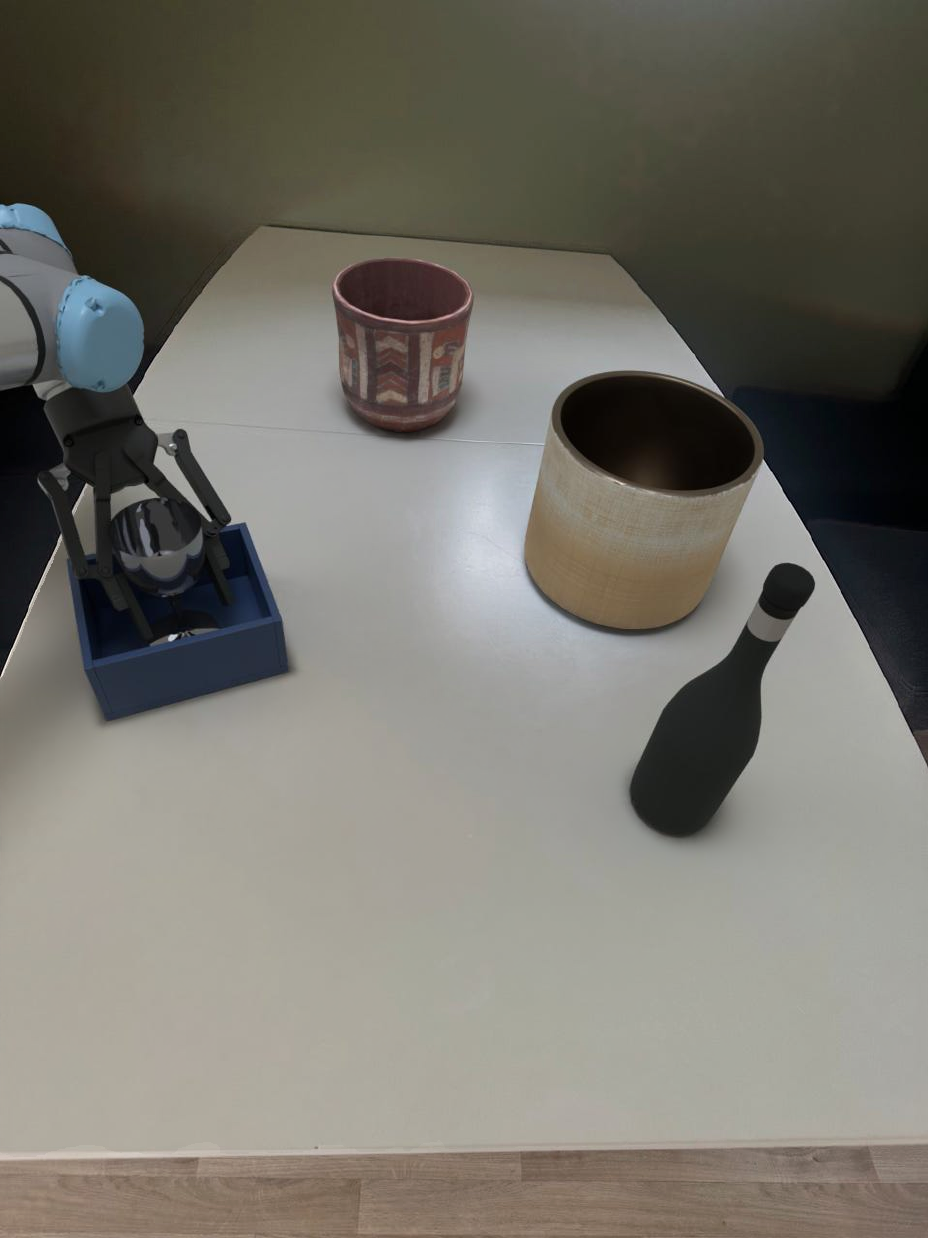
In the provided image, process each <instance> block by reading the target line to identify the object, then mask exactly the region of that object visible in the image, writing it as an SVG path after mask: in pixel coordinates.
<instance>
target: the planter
mask: <svg viewBox="0 0 928 1238" xmlns="http://www.w3.org/2000/svg"><path fill="white" fill-rule="evenodd" d="M764 452H765V449H764V443H763V439H762V436H761V434H760V432H759V430H758V429H757V426H756V425H755V424H754V422H753V421H752V419H750V418H749V416H748V415H746V413H745V412H744V411H742V409H740V407H738V406H737V405H735V404H734V403H733V402H732V401H730V400H729V399H728V398H726V397H724V396H722V394H721V395H720V394H719V393H718V392H715V391H713V390H712V389H710V388H708V387H706V386H703V385H701V384H698V383H696V382H693V381H691V380H688V379H685V378H682V377H678V376H675V375H670V374H665V373H661V372H655V371H646V370H631V369H630V370H629V369H628V370H627V369H626V370H625V369H624V370H612V371H611V370H610V371H604V372H599V373H595V374H591V375H588V376H585V377H583V378H580V379H578V380H575V381H574V382H573V383H571V384H569V385H568V386H567V387H565V388H564V389H563V390H562V391H561V392H560V393H559V395H557V398H556V399H555V401H554V402H553V406H552V409H551V413H550V417H549V422H548V427H547V433H546V437H545V442H544V447H543V452H542V456H541V462H540V465H539V471H538V476H537V479H536V483H535V489H534V494H533V498H532V503H531V507H530V512H529V516H528V521H527V526H526V531H525V536H524V558H525V559H524V560H525V563H526V566H527V569H528V572H529V574H530V576H531V578H532V579H533V581H534V582H535V584H536V586H538V587H539V589H540V590H541V591H542V592H543V594H544V595H546V596H547V597H548V598H549V599H550V600H551V601H553V602H554V603H555V604H556V605H558V606H559V607H561V609H564V610H565V611H567V612H569V613H570V614H573V615H574V616H576V617H579V618H581V619H583V620H585V621H588V622H591V623H593V624H597V625H600V626H605V627H610V628H616V629H622V630H623V629H624V630H645V629H647V630H648V629H653V628H654V629H655V628H658V627H659V628H660V627H663V626H667V625H670V624H672V623H675V622H676V621H679V620H681V619H683V618H684V617H686V616H687V615H689V614H690V613H691V612H692V611H693V610H694V609H696V608H697V606H698V605H699V603H700V602H701V601H702V600H703V598H704V596H705V595H706V593H707V591H708V589H709V587H710V585H711V582H712V580H713V578H714V576H715V574H716V572H717V569H718V566H719V564H720V561H721V560H722V558H723V555H724V552H725V550H726V547H727V545H728V543H729V540H730V538H731V536H732V533H733V531H734V529H735V526H736V524H737V522H738V520H739V517H740V515H741V513H742V510H743V508H744V506H745V503H746V502H747V499H748V497H749V494H750V493H751V490H752V488H753V485H754V483H755V481H756V479H757V476H758V474H759V471H760V470H761V468H762V465H763V461H764V457H765V456H764V455H765V453H764Z"/></svg>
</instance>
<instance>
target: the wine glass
mask: <svg viewBox="0 0 928 1238" xmlns="http://www.w3.org/2000/svg"><path fill="white" fill-rule="evenodd" d="M195 508H196V507H195ZM195 508H193V507H192V506H191V505H189V504H187V503H186V502H183V501H180V500H177V499H172V498H160V497H151V498H145V499H142V500H138V501H136V502H135V501H134V502H133V503H131V504H129V505H127V506H125V507H123V508H122V509H121V510H119V511H118V512H117V513H116V514H115V515H114V516H113V517H112V518H111V522H110V524H109V528H108V537H109V541H110V544H111V547H112V550H113V552H114V555H115V557H116V560H117V562H118V564H119V566H120V567H121V569H122V571H123V572H124V574H125V575H126V576H127V578H128V579H129V580H130V582H131V583H132V584H133V585H134V586H135V587H136V588H138V589H139V590H140V591H142V592H144V593H146V594H149V595H152V596H156V597H161V598H164V599H166V600H167V601H168V602H169V604H170V606H171V608H172V610H173V613H170V614H168V615H166V616H164V617H163V618H161V619H160V620H159V621H157V622H156V623H155V625H154V626H153V627H152V629H151V631H152V633H153V635H154V638H152V639H149V640H148V645H149V647H150V646H154V645H158V644H162V643H166V642H170V641H174V640H178V639H182V638H186V637H190V636H194V635H198V634H202V633H206V632H210V631H214V630H218V629H220V627H219V624H218V622H217V621H216V620H215V619H214V618H213V617H212V616H211V615H209V614H207V613H205V612H202V611H198V610H182V596H183V594H184V593H185V592H186V591H188V590H189V589H190V588H191V587H193V586H194V584H195V583H196V582H197V581H198V580H199V578H200V576H201V574H202V571H203V568H204V563H205V537H204V531H203V526H202V521H201V518H200V515H199V513H198V512H197V511H196V509H197V508H196V509H195Z"/></svg>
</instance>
